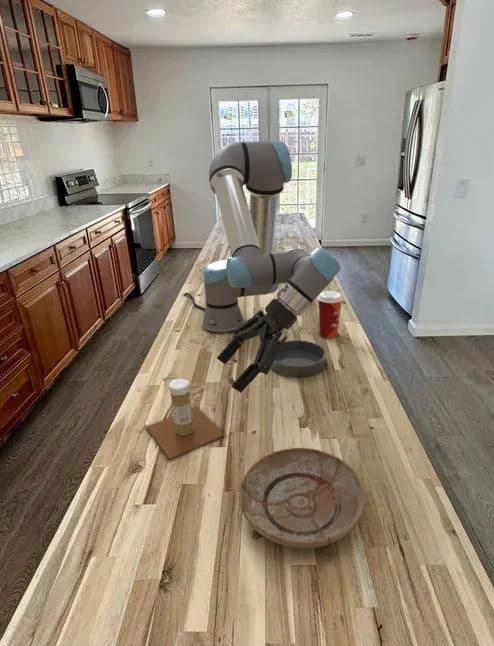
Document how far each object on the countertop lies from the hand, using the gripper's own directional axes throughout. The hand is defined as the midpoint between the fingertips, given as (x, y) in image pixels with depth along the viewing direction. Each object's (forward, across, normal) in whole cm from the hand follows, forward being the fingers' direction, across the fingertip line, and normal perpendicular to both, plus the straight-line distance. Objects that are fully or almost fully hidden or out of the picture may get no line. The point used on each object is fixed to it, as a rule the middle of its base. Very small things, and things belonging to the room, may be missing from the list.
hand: (228, 374), depth 104 cm
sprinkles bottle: (+18, +1, +1) cm, 18 cm away
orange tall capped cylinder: (-22, -34, +42) cm, 58 cm away
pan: (-10, -20, +29) cm, 37 cm away
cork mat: (+18, +1, +1) cm, 18 cm away
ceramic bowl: (+6, +32, +13) cm, 35 cm away
